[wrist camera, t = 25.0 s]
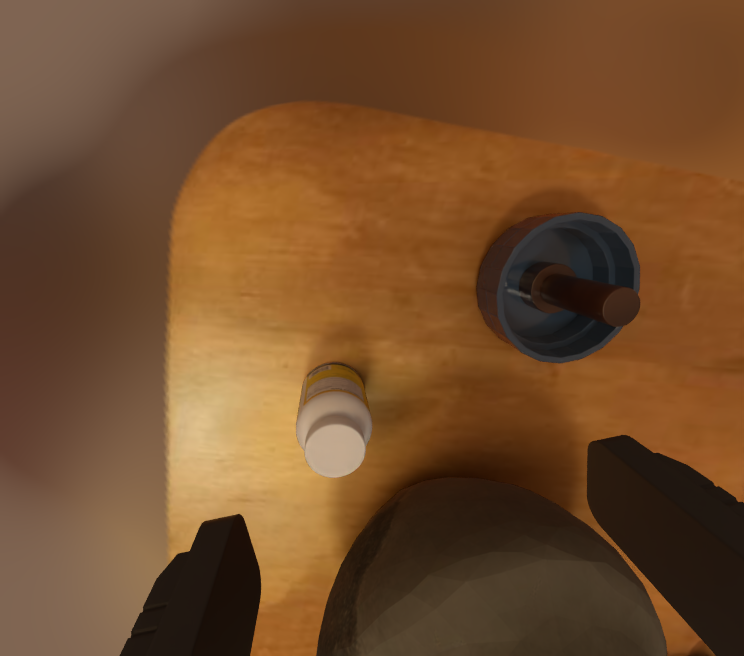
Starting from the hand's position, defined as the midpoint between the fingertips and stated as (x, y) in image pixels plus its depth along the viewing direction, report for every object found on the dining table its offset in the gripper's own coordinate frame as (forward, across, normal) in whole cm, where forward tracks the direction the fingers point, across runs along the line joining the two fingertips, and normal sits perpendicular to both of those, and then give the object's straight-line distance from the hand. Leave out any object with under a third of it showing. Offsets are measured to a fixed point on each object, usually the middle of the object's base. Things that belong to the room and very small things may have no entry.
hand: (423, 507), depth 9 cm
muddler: (+29, -19, +3) cm, 35 cm away
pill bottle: (+30, +4, +10) cm, 32 cm away
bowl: (+30, -19, +3) cm, 36 cm away
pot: (+30, -5, +32) cm, 44 cm away
